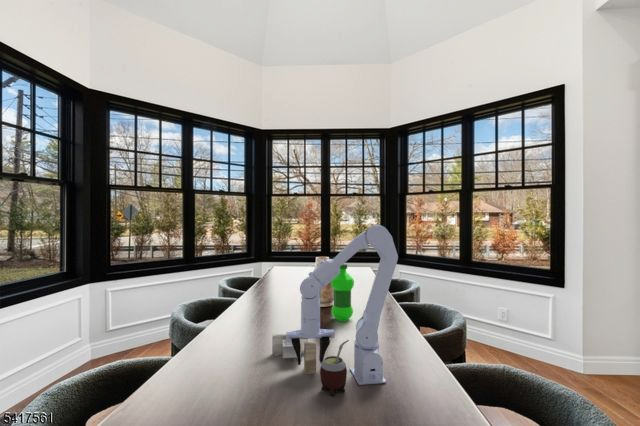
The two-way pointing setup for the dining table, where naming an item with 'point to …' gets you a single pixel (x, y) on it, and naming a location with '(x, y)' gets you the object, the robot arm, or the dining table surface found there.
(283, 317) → the dining table surface
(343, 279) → the plastic bottle
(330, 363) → the mate gourd
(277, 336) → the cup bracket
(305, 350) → the rail end
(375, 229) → the robot arm
